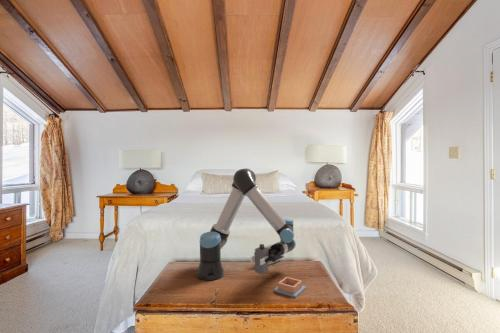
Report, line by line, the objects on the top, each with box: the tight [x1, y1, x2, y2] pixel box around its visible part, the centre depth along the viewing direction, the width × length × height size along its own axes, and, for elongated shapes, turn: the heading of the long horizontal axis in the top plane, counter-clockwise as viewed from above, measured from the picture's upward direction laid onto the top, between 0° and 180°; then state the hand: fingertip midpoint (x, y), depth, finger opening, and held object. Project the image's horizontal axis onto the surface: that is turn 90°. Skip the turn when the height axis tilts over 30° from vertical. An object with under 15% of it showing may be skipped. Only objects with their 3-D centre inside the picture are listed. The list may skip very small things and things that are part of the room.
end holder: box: [273, 276, 307, 299], centre depth 138 cm, size 12×12×4 cm
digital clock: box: [264, 244, 282, 266], centre depth 176 cm, size 16×9×11 cm, turn 122°
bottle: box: [254, 243, 269, 275], centre depth 142 cm, size 5×5×14 cm
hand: (256, 261), depth 138 cm, fingers closed on bottle, 5 cm apart
